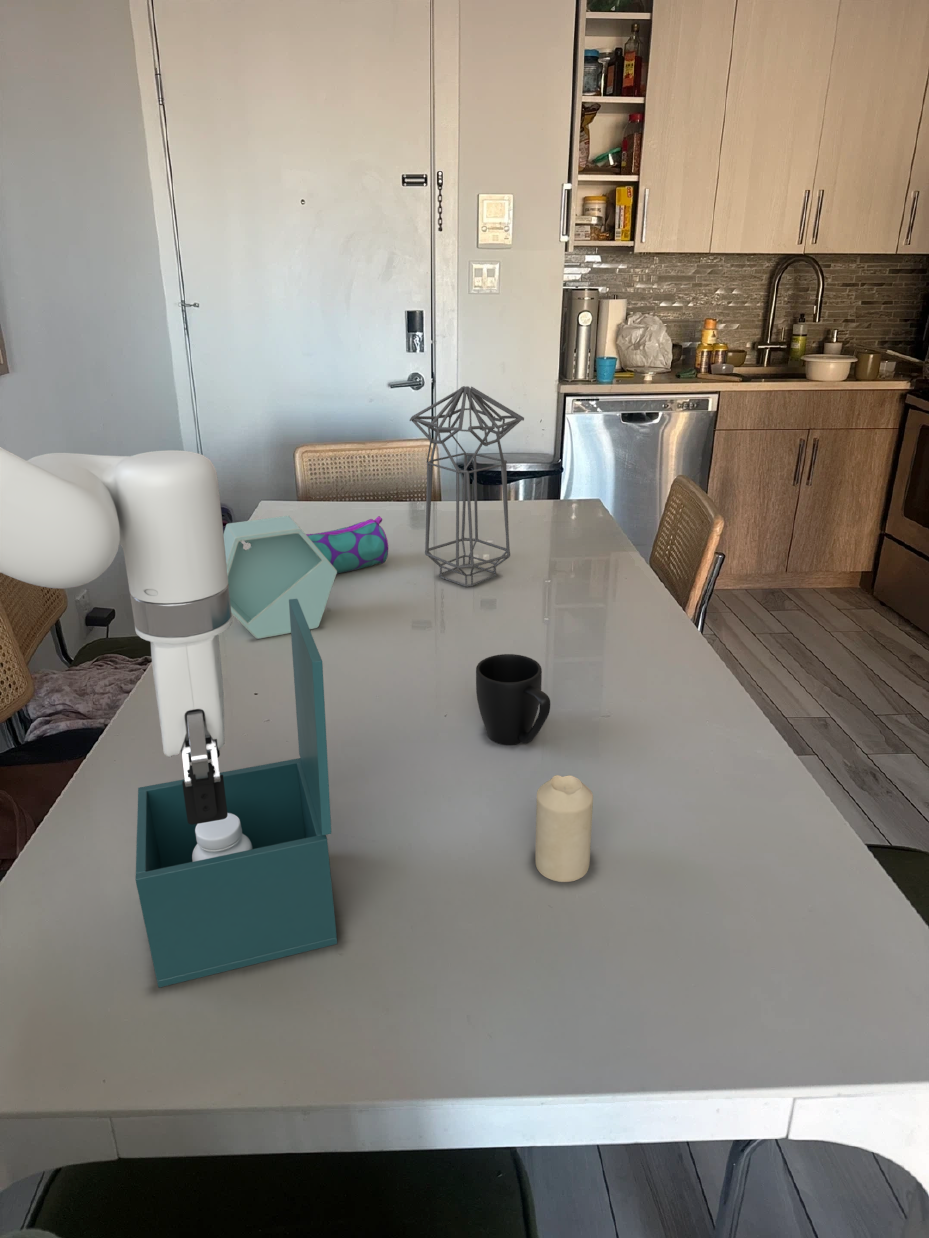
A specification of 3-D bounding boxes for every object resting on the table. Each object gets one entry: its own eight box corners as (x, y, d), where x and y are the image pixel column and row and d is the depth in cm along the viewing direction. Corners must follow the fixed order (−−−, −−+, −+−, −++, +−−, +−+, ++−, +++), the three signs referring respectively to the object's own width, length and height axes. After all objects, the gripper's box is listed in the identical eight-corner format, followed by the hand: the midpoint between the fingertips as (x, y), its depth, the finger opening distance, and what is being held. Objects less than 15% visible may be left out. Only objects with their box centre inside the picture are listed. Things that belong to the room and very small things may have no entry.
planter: (278, 661, 143) (192, 573, 132) (268, 642, 149) (185, 558, 138) (357, 594, 144) (278, 502, 133) (344, 578, 151) (267, 490, 139)
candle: (557, 890, 85) (560, 805, 81) (524, 859, 90) (525, 777, 86) (600, 869, 88) (605, 787, 84) (566, 840, 92) (570, 760, 88)
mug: (514, 772, 104) (515, 703, 100) (464, 728, 114) (463, 663, 110) (570, 753, 108) (573, 685, 104) (517, 711, 117) (518, 648, 114)
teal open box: (158, 988, 75) (135, 879, 70) (157, 886, 87) (138, 787, 82) (337, 943, 79) (327, 839, 75) (313, 852, 91) (303, 756, 86)
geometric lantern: (410, 576, 165) (402, 387, 151) (471, 556, 174) (469, 377, 160) (466, 598, 154) (463, 397, 140) (528, 576, 164) (531, 386, 150)
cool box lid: (312, 662, 68) (322, 660, 68) (288, 599, 80) (297, 598, 80) (322, 835, 74) (331, 833, 75) (299, 753, 86) (307, 752, 86)
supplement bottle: (243, 882, 86) (230, 800, 82) (271, 910, 82) (260, 825, 78) (192, 909, 83) (176, 824, 79) (219, 939, 79) (205, 852, 75)
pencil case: (286, 589, 160) (281, 539, 156) (273, 574, 167) (268, 526, 163) (391, 569, 168) (389, 522, 164) (375, 556, 175) (372, 510, 171)
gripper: (135, 576, 76) (159, 745, 83) (130, 659, 61) (160, 856, 68) (223, 568, 79) (240, 733, 85) (239, 646, 63) (258, 838, 70)
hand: (205, 787), depth 77 cm, fingers open, 9 cm apart
